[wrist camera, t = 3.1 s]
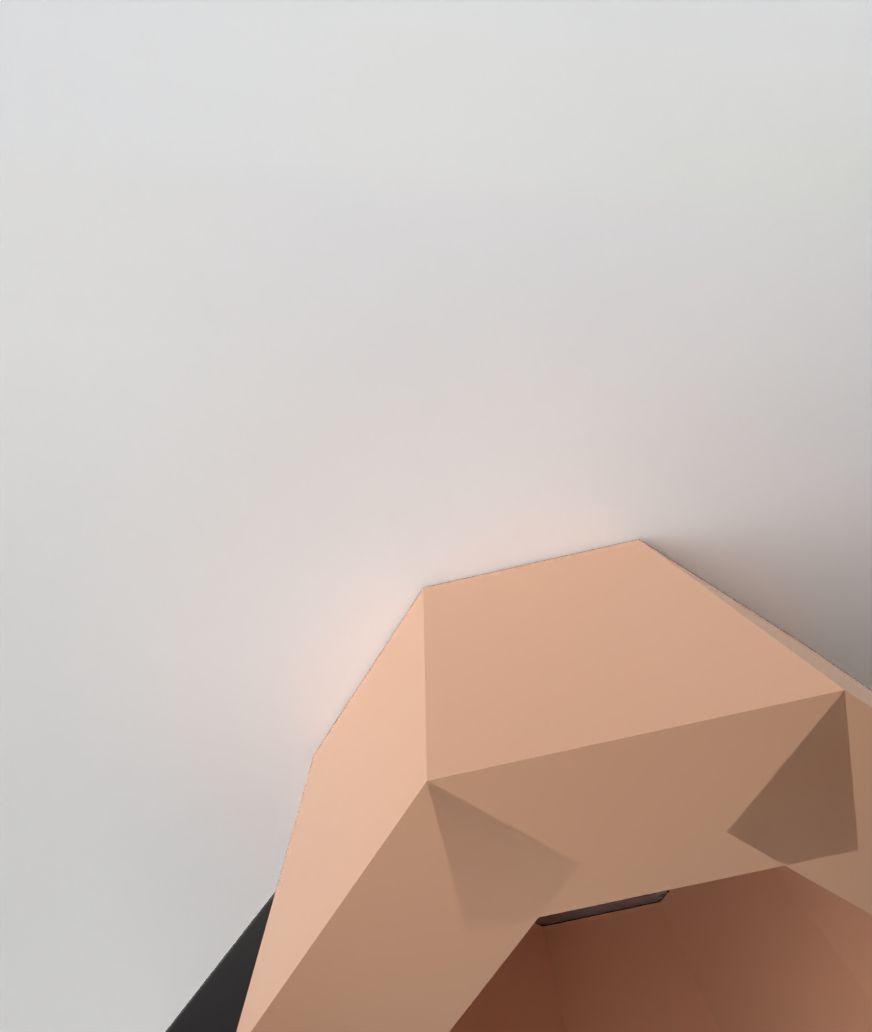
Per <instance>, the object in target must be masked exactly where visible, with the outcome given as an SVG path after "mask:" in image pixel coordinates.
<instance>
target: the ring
mask: <svg viewBox="0 0 872 1032" xmlns="http://www.w3.org/2000/svg"><path fill="white" fill-rule="evenodd" d="M666 890H670V891H669V892H668V893H667V894H666V896H665V897H664V898H663V899H662V901H661V902H658V903H653V904H648V905H644V906H639V907H634V908H629V909H625V910H620V911H615V912H610V913H606V914H601V915H596V916H591V917H587V918H582V919H577V920H572V921H568V922H563V923H558V924H553V925H549V926H544V927H542V926H540V925H538V924H536V923H535V922H536V920H537V919H538V918H539V917H543V916H548V915H553V914H557V913H562V912H567V911H572V910H576V909H581V908H586V907H591V906H595V905H600V904H605V903H609V902H614V901H619V900H624V899H628V898H633V897H638V896H643V895H647V894H652V893H657V892H662V891H666ZM236 1032H872V691H871V690H869V689H868V688H866V687H865V686H864V685H862V684H861V683H859V682H858V681H856V680H855V679H853V678H852V677H851V676H849V675H848V674H846V673H845V672H843V671H842V670H840V669H839V668H838V667H836V666H835V665H833V664H832V663H830V662H829V661H827V660H826V659H824V658H823V657H822V656H820V655H819V654H817V653H816V652H814V651H813V650H811V649H810V648H809V647H807V646H805V645H804V644H802V643H801V642H799V641H798V640H796V639H794V638H793V637H791V636H790V635H788V634H787V633H785V632H783V631H782V630H780V629H779V628H777V627H776V626H774V625H772V624H771V623H769V622H768V621H766V620H765V619H763V618H761V617H760V616H758V615H757V614H755V613H754V612H752V611H750V610H749V609H747V608H746V607H744V606H743V605H741V604H739V603H738V602H736V601H735V600H733V599H732V598H730V597H728V596H727V595H725V594H724V593H722V592H721V591H719V590H717V589H716V588H714V587H713V586H711V585H710V584H708V583H706V582H705V581H703V580H702V579H700V578H699V577H697V576H696V575H694V574H692V573H691V572H689V571H688V570H686V569H685V568H683V567H681V566H680V565H678V564H677V563H675V562H674V561H672V560H670V559H669V558H667V557H666V556H664V555H663V554H661V553H659V552H658V551H656V550H655V549H653V548H652V547H650V546H648V545H647V544H645V543H644V542H642V541H641V540H634V541H630V542H625V543H621V544H616V545H612V546H607V547H603V548H599V549H594V550H590V551H585V552H581V553H576V554H572V555H567V556H563V557H559V558H554V559H550V560H545V561H541V562H536V563H532V564H527V565H523V566H519V567H514V568H510V569H505V570H501V571H496V572H492V573H487V574H483V575H479V576H474V577H470V578H465V579H461V580H456V581H452V582H447V583H443V584H439V585H434V586H430V587H425V588H423V589H422V591H421V592H420V594H419V595H418V597H417V598H416V600H415V602H414V603H413V605H412V606H411V608H410V609H409V611H408V612H407V614H406V615H405V617H404V618H403V620H402V621H401V623H400V624H399V626H398V628H397V629H396V631H395V632H394V634H393V635H392V637H391V638H390V640H389V641H388V643H387V644H386V646H385V647H384V649H383V650H382V652H381V653H380V655H379V657H378V658H377V660H376V661H375V663H374V664H373V666H372V667H371V669H370V670H369V672H368V673H367V675H366V676H365V678H364V679H363V681H362V683H361V684H360V686H359V687H358V689H357V690H356V692H355V693H354V695H353V696H352V698H351V699H350V701H349V702H348V704H347V705H346V707H345V709H344V710H343V712H342V713H341V715H340V716H339V718H338V719H337V721H336V722H335V724H334V725H333V727H332V728H331V730H330V731H329V733H328V735H327V736H326V738H325V739H324V741H323V742H322V744H321V745H320V747H319V748H318V750H317V751H316V753H315V754H314V757H313V760H312V764H311V767H310V771H309V775H308V778H307V782H306V785H305V789H304V792H303V796H302V800H301V803H300V807H299V810H298V814H297V817H296V821H295V824H294V828H293V832H292V835H291V839H290V842H289V846H288V849H287V853H286V857H285V860H284V864H283V867H282V871H281V874H280V878H279V881H278V885H277V889H276V892H275V896H274V899H273V903H272V906H271V910H270V914H269V917H268V921H267V924H266V928H265V931H264V935H263V939H262V942H261V946H260V949H259V953H258V956H257V960H256V963H255V967H254V971H253V974H252V978H251V981H250V985H249V988H248V992H247V996H246V999H245V1003H244V1006H243V1010H242V1013H241V1017H240V1021H239V1024H238V1028H237V1031H236Z"/></svg>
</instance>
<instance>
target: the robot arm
mask: <svg viewBox="0 0 872 1032" xmlns="http://www.w3.org/2000/svg"><path fill="white" fill-rule="evenodd" d="M275 892H276V891H275ZM274 896H275V893H274V894H273V895H272V897H271V898H270V899H269V900H268V902H267V903H266V904H265V905H264V907H263V908H262V909H261V911H260V912H259V913H258V914H257V916H256V917H255V918H254V919H253V921H252V922H251V923H250V925H249V926H248V927H247V928H246V930H245V931H244V932H243V934H242V935H241V936H240V937H239V939H238V940H237V941H236V942H235V944H234V945H233V946H232V948H231V949H230V950H229V951H228V953H227V954H226V955H225V956H224V958H223V959H222V960H221V962H220V963H219V964H218V965H217V967H216V968H215V969H214V971H213V972H212V973H211V974H210V976H209V977H208V978H207V979H206V981H205V982H204V983H203V985H202V986H201V987H200V988H199V990H198V991H197V992H196V993H195V995H194V996H193V997H192V999H191V1000H190V1001H189V1002H188V1004H187V1005H186V1006H185V1008H184V1009H183V1010H182V1011H181V1013H180V1014H179V1015H178V1016H177V1018H176V1019H175V1020H174V1022H173V1023H172V1024H171V1025H170V1027H169V1028H168V1029H167V1030H166V1032H236V1031H237V1028H238V1024H239V1021H240V1017H241V1013H242V1010H243V1006H244V1003H245V999H246V996H247V992H248V988H249V985H250V981H251V978H252V974H253V971H254V967H255V963H256V960H257V956H258V953H259V949H260V946H261V942H262V939H263V935H264V931H265V928H266V924H267V921H268V917H269V914H270V910H271V906H272V903H273V899H274Z"/></svg>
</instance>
